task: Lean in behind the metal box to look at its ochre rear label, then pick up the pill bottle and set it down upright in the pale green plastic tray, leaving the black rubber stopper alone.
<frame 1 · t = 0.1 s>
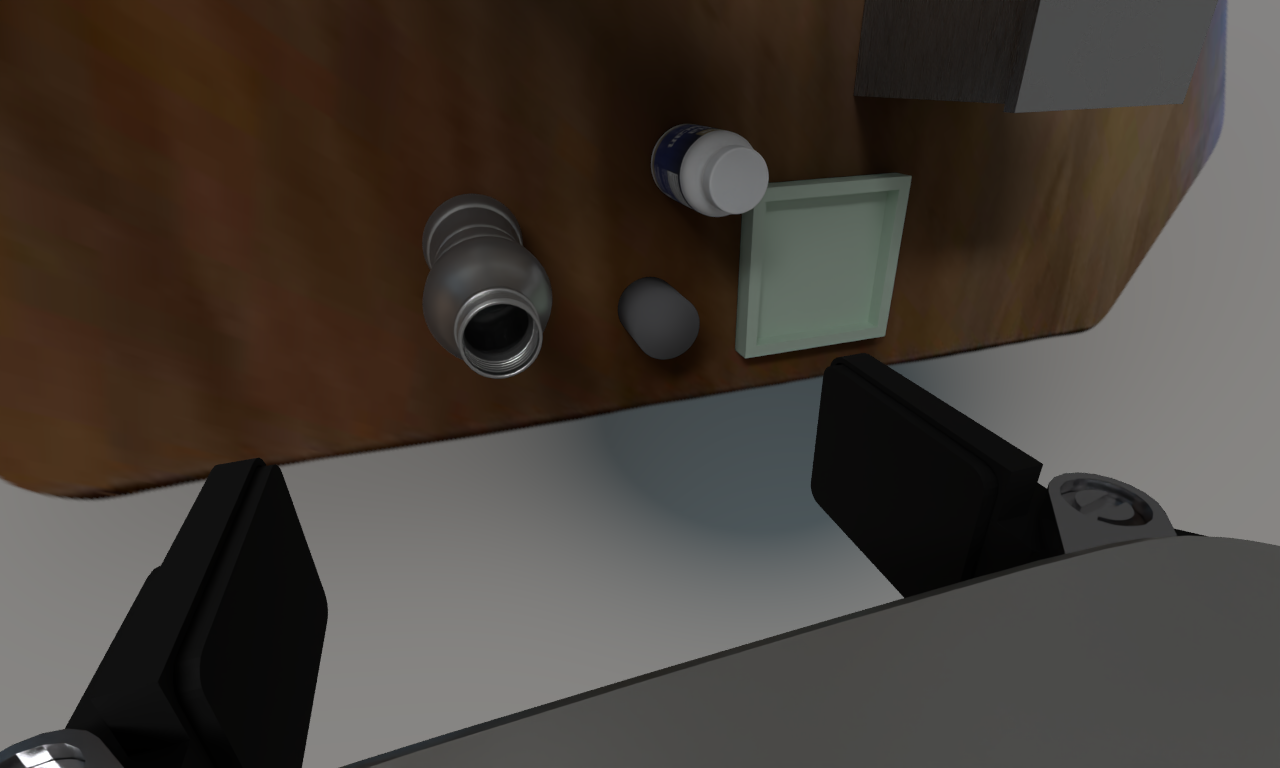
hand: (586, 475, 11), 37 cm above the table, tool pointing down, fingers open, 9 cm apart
pill bottle: (682, 161, 46), on the table
plastic bottle: (470, 235, 44), on the table
stopper: (647, 306, 50), on the table
metal box: (928, 35, 48), on the table
tray: (813, 263, 53), on the table
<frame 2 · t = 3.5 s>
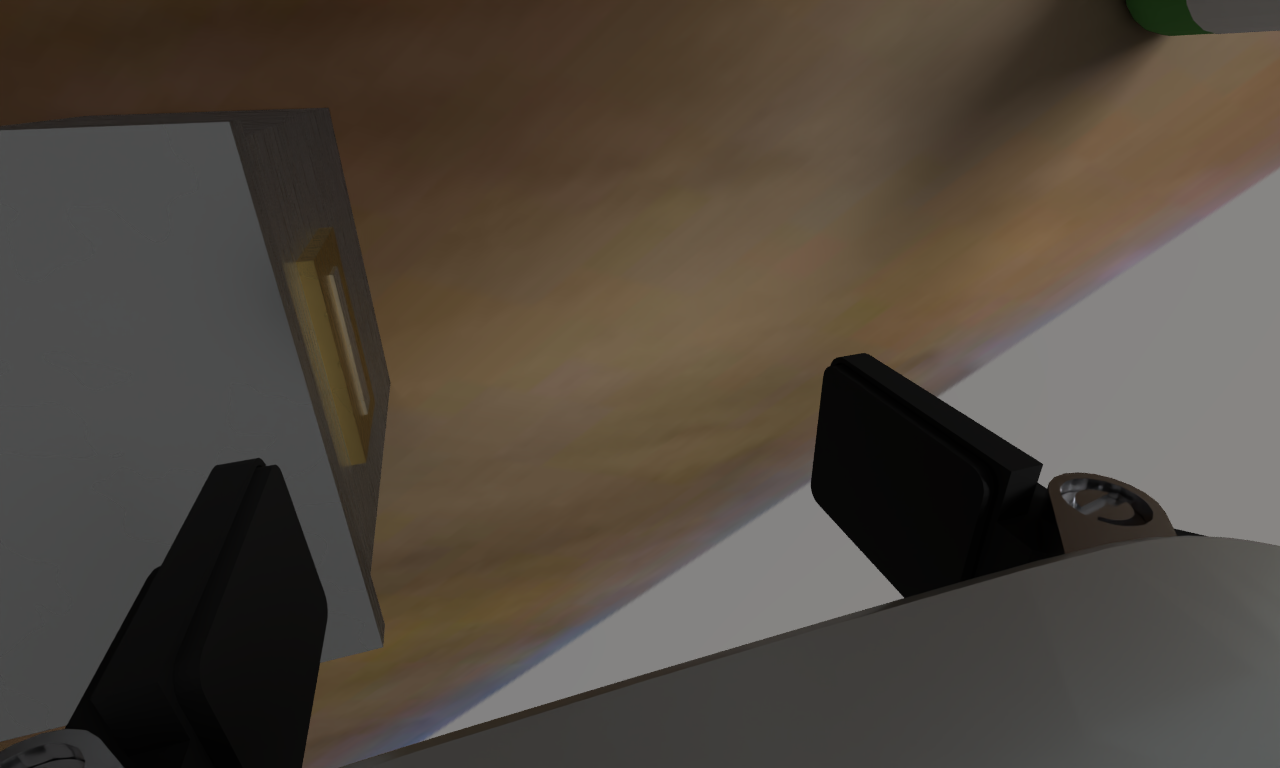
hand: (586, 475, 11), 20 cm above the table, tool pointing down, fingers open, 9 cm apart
metal box: (259, 268, 26), on the table
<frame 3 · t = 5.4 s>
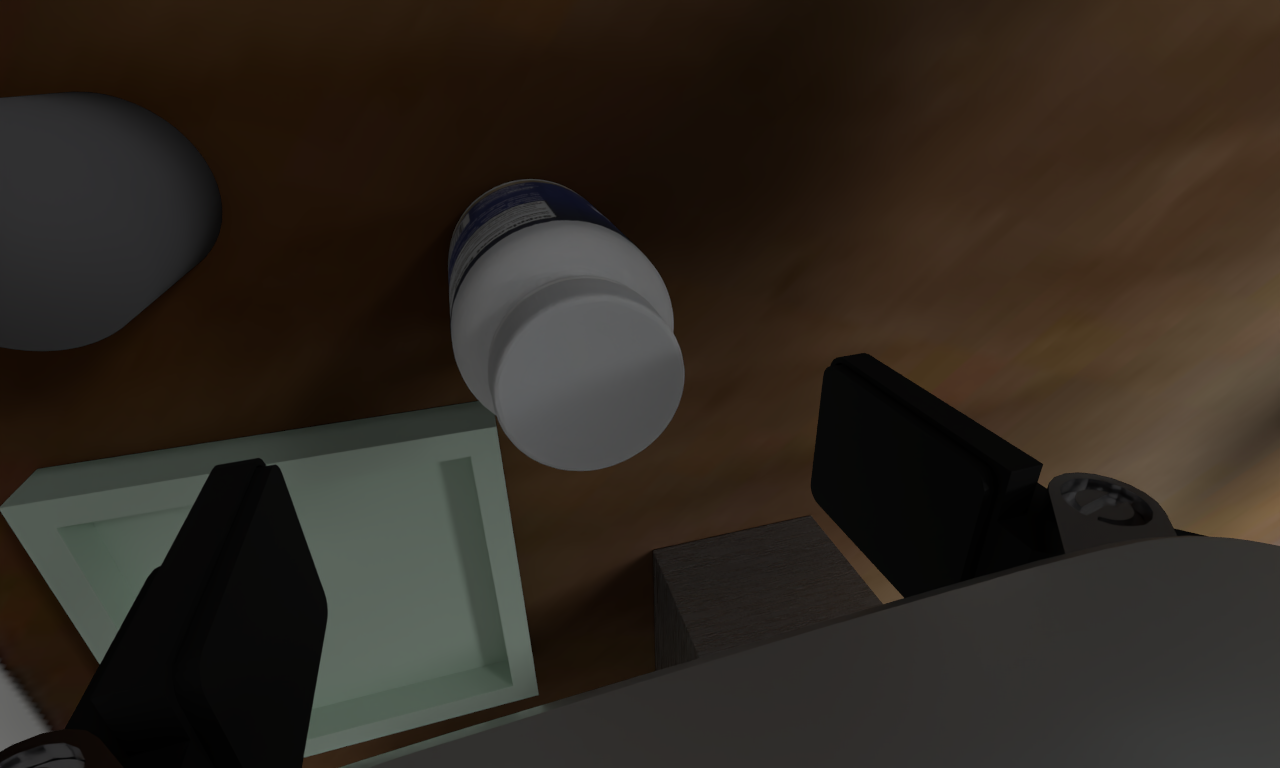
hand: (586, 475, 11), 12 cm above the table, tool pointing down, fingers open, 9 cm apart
pill bottle: (531, 257, 21), on the table
stopper: (115, 193, 17), on the table
metal box: (729, 621, 32), on the table
tray: (335, 582, 24), on the table
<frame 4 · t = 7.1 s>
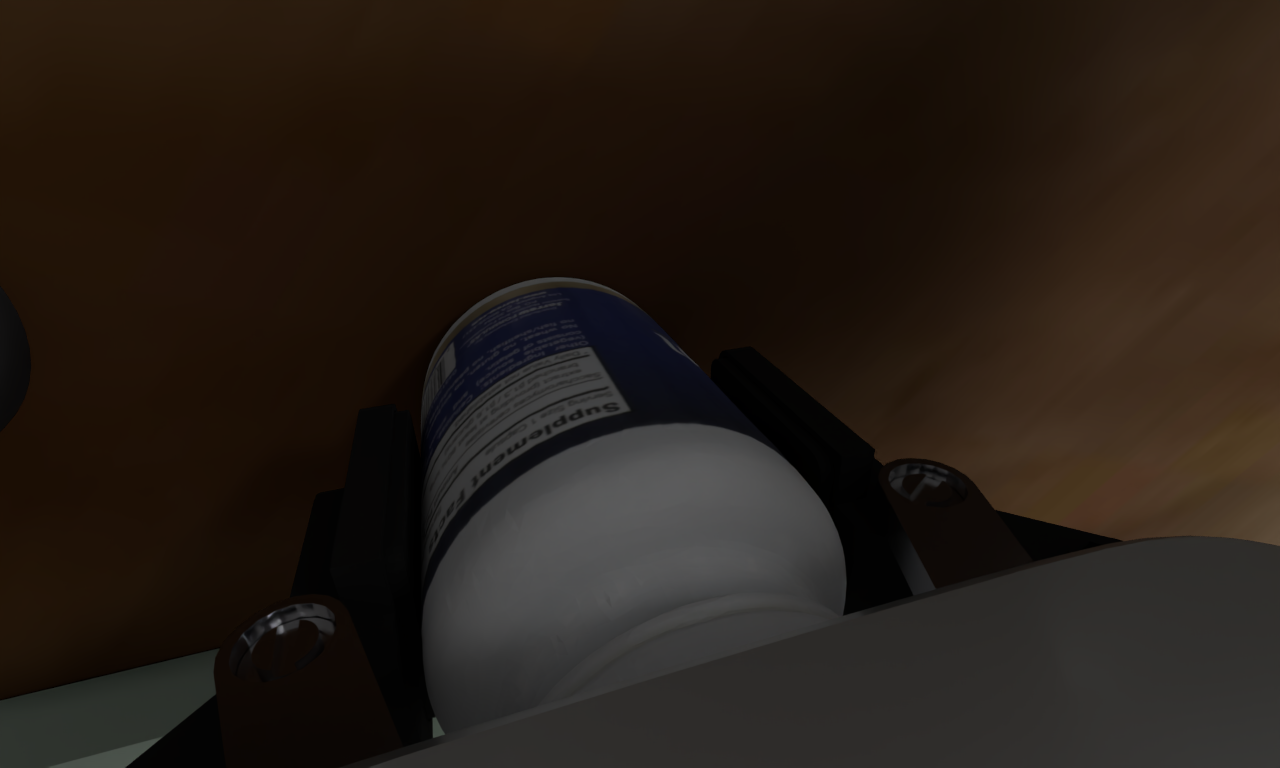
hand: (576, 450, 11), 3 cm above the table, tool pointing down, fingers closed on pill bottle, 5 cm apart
pill bottle: (550, 386, 14), on the table, touching gripper
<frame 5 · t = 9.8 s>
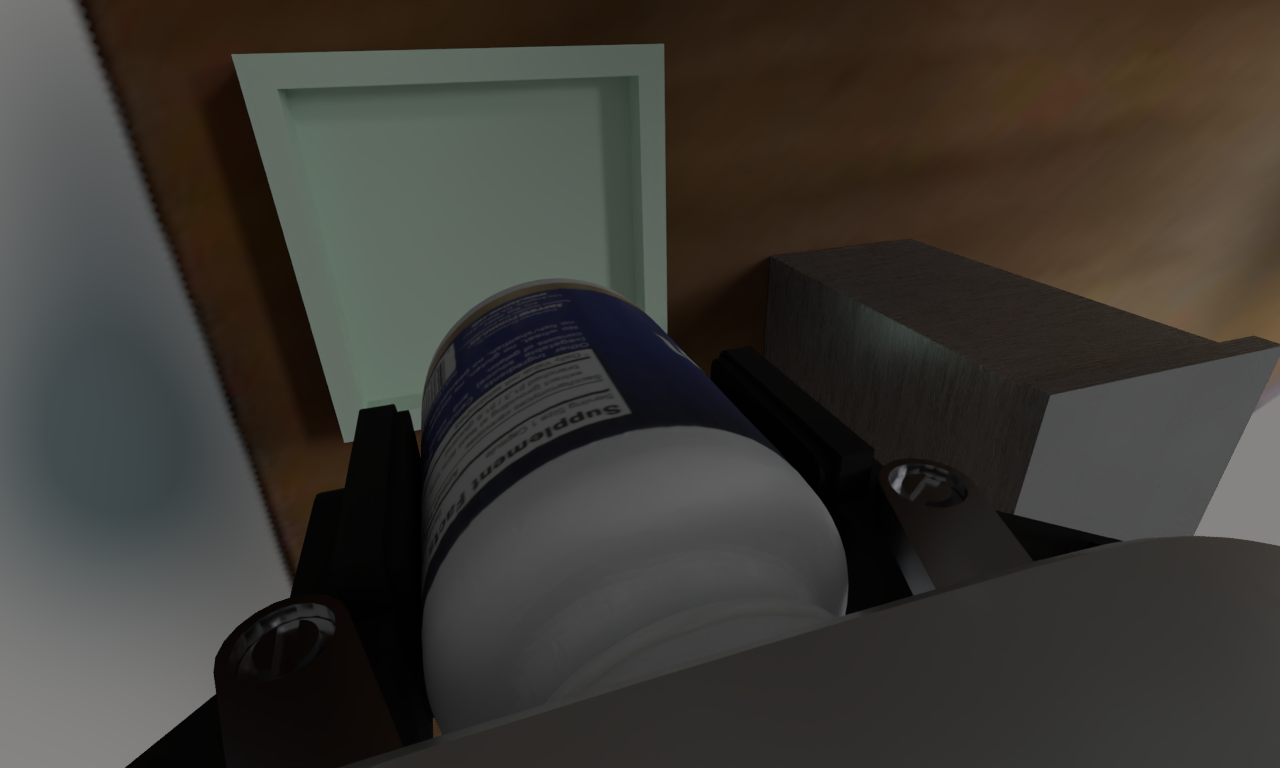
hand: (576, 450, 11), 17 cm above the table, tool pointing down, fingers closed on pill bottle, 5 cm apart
pill bottle: (551, 387, 14), point 14 cm above the table, touching gripper
metal box: (829, 357, 34), on the table
tray: (490, 242, 26), on the table
when the fingers open (4 cm above the table, at t = 12.7 s): pill bottle drops 1 cm, resting on tray.
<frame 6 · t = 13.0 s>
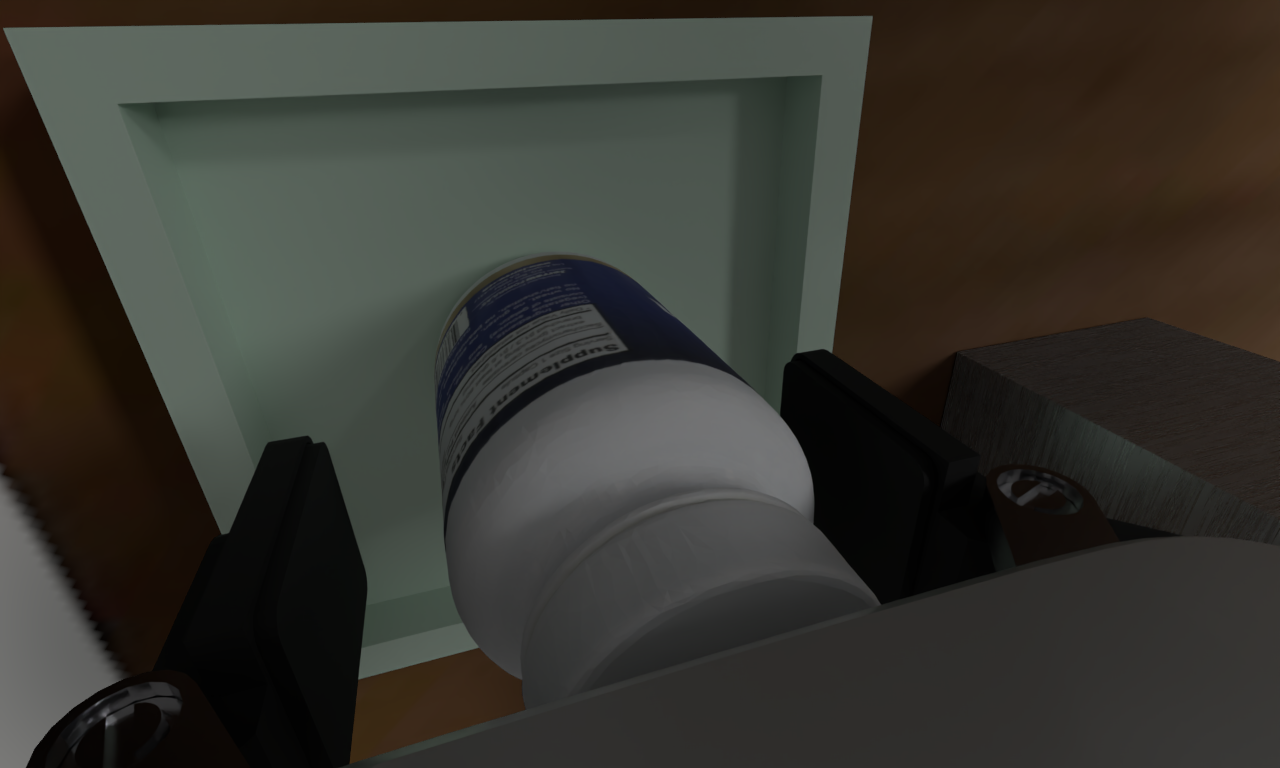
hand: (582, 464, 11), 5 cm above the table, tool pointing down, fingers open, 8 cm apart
pill bottle: (551, 355, 15), resting on tray
metal box: (1013, 482, 23), on the table
tray: (537, 356, 15), on the table
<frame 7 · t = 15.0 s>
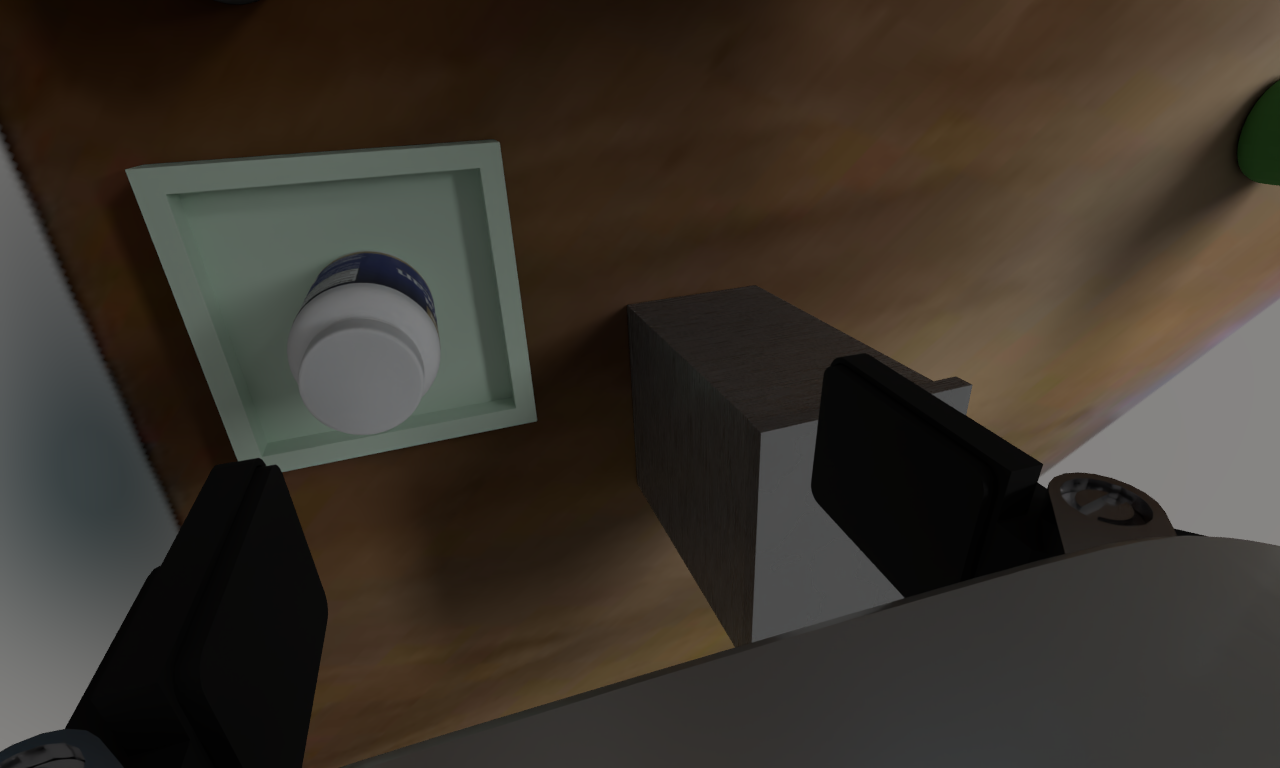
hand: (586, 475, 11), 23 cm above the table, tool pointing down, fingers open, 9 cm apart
wine bottle: (1266, 127, 46), on the table
pill bottle: (374, 303, 30), resting on tray
metal box: (694, 388, 38), on the table
tray: (369, 304, 30), on the table
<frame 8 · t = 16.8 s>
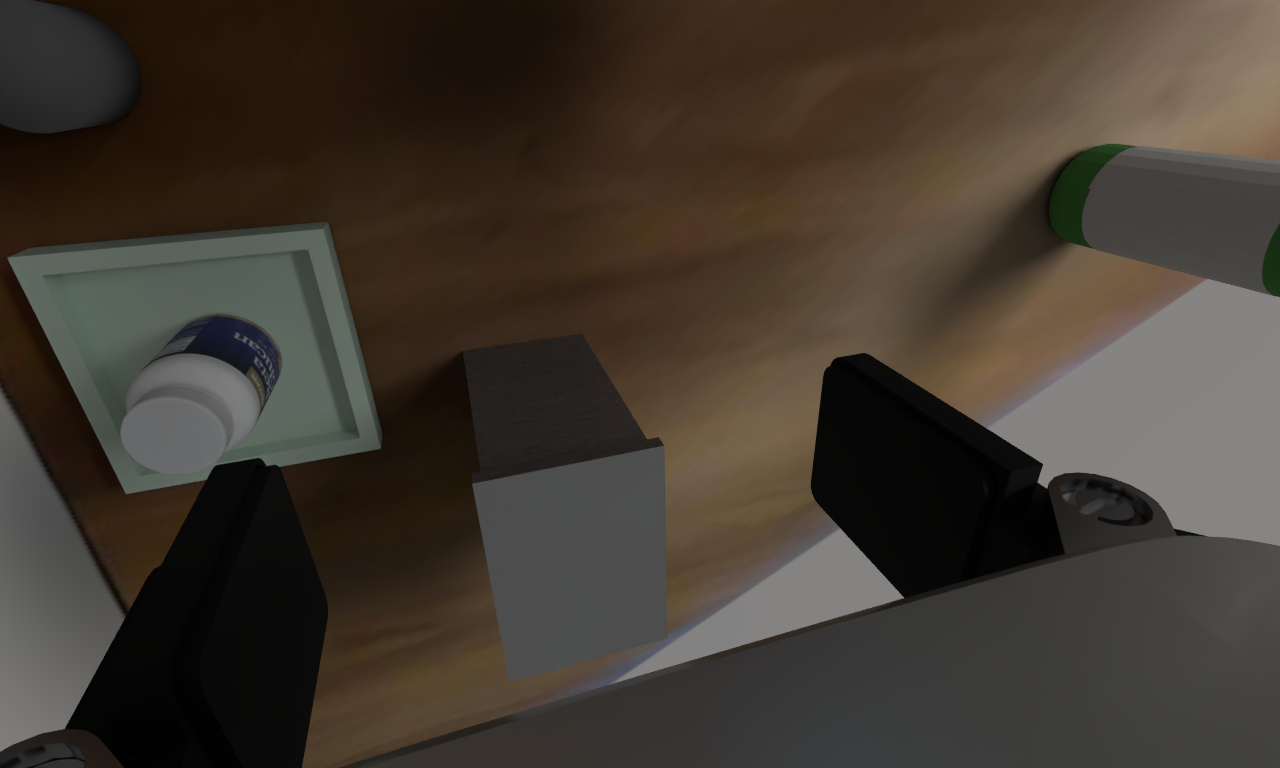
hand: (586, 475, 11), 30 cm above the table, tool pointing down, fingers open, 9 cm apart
wine bottle: (1078, 192, 51), on the table
pill bottle: (233, 352, 36), resting on tray
stopper: (77, 67, 29), on the table
metal box: (533, 419, 44), on the table
tray: (230, 353, 36), on the table
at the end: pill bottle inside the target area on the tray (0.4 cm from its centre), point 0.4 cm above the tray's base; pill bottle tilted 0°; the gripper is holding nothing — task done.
